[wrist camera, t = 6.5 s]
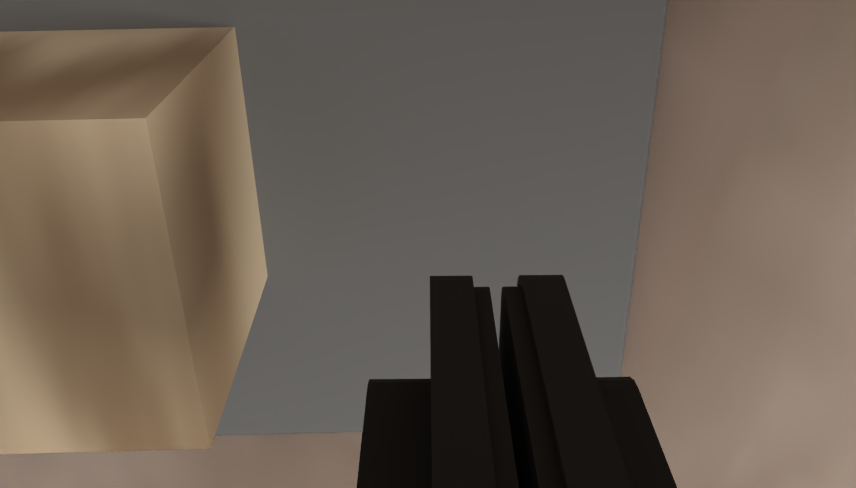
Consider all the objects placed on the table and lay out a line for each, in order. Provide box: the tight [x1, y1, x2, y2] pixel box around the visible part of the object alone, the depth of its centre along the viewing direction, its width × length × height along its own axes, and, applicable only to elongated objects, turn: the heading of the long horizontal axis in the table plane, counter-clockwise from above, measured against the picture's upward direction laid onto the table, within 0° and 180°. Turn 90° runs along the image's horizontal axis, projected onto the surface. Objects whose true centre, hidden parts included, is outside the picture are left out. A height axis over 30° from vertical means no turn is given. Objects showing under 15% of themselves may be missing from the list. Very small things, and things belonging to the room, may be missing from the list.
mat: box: [0, 0, 668, 436], centre depth 17 cm, size 24×16×1 cm, turn 91°
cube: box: [0, 27, 268, 454], centre depth 15 cm, size 6×6×6 cm
